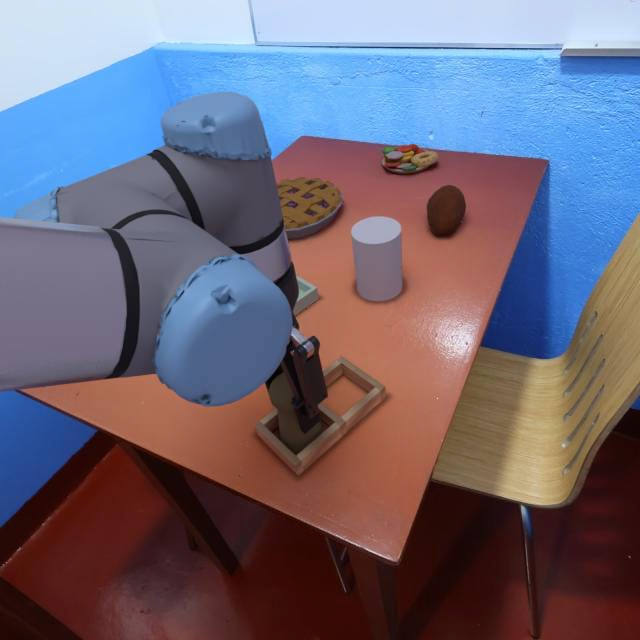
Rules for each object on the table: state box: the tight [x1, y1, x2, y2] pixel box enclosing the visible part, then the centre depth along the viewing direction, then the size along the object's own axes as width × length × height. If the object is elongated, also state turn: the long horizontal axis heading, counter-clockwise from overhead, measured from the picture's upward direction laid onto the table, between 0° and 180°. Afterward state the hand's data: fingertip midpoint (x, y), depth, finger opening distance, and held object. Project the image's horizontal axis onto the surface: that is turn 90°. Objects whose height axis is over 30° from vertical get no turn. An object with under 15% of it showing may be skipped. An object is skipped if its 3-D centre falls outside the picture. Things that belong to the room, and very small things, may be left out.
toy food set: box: [381, 143, 440, 175], centre depth 117 cm, size 13×13×3 cm
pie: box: [276, 176, 344, 240], centre depth 105 cm, size 22×22×5 cm
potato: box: [426, 184, 467, 236], centre depth 94 cm, size 8×12×8 cm, turn 160°
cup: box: [350, 215, 403, 302], centre depth 81 cm, size 8×8×12 cm
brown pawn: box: [268, 373, 325, 454], centre depth 60 cm, size 6×6×11 cm
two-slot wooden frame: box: [253, 355, 387, 477], centre depth 65 cm, size 17×9×2 cm, turn 133°
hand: (295, 412), depth 61 cm, fingers closed on brown pawn, 5 cm apart
